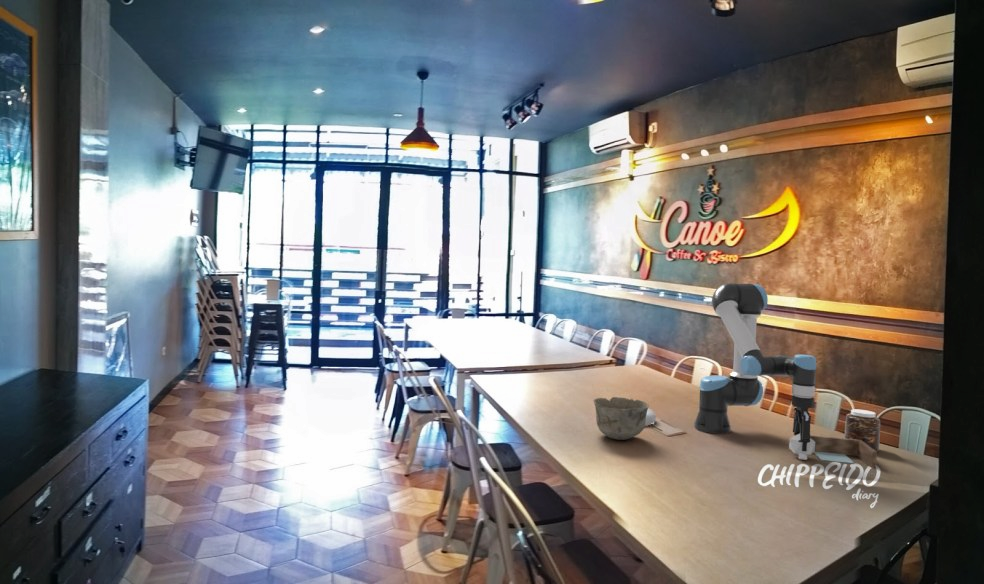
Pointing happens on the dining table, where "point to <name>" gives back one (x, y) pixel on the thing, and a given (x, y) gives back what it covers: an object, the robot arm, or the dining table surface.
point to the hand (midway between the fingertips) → (800, 456)
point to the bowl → (620, 417)
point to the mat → (833, 457)
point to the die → (797, 446)
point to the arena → (846, 448)
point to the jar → (863, 427)
